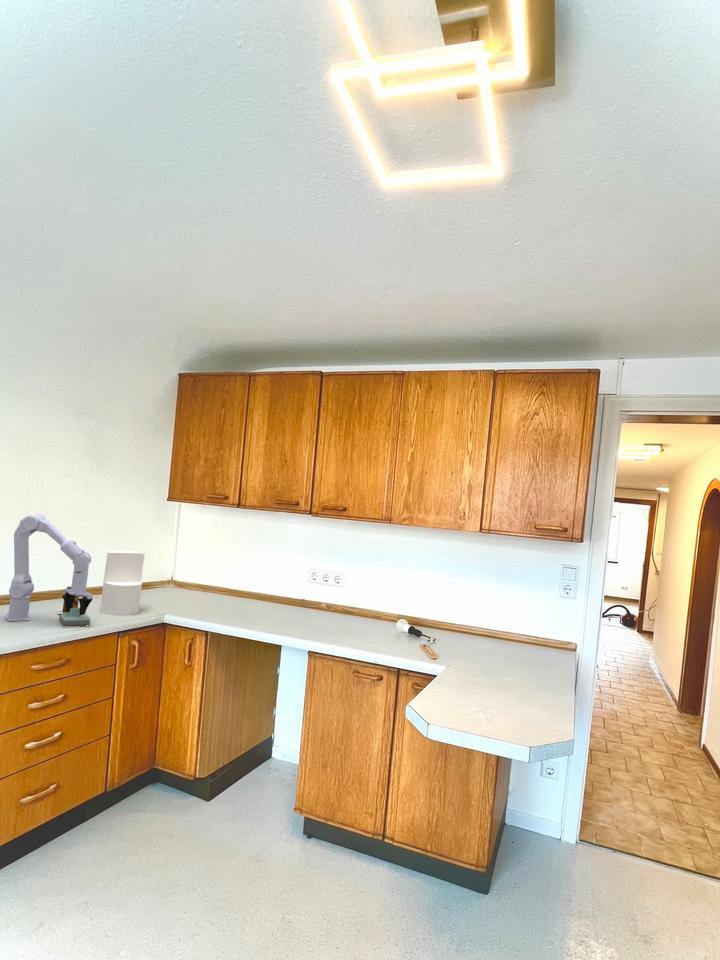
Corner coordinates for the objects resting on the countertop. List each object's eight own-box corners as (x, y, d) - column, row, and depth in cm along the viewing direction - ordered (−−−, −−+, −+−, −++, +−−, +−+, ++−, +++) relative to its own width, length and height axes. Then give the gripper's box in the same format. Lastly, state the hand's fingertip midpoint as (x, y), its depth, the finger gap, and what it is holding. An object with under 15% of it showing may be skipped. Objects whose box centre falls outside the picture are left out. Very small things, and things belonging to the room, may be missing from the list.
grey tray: (58, 620, 241) (59, 614, 241) (84, 619, 247) (85, 613, 247) (63, 627, 231) (63, 621, 231) (89, 626, 237) (90, 620, 237)
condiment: (79, 614, 254) (83, 588, 254) (59, 616, 248) (63, 589, 248) (74, 611, 259) (78, 585, 260) (54, 612, 253) (58, 585, 254)
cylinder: (94, 607, 270) (102, 550, 271) (130, 606, 282) (137, 550, 283) (107, 616, 257) (115, 555, 258) (144, 614, 269) (151, 555, 270)
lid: (59, 615, 241) (60, 605, 241) (84, 615, 247) (86, 605, 247) (63, 622, 231) (65, 612, 231) (89, 621, 237) (91, 611, 237)
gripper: (59, 579, 238) (54, 611, 238) (84, 584, 233) (80, 617, 233) (72, 578, 245) (68, 609, 244) (98, 583, 240) (94, 614, 239)
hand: (75, 613), depth 239 cm, fingers open, 7 cm apart
